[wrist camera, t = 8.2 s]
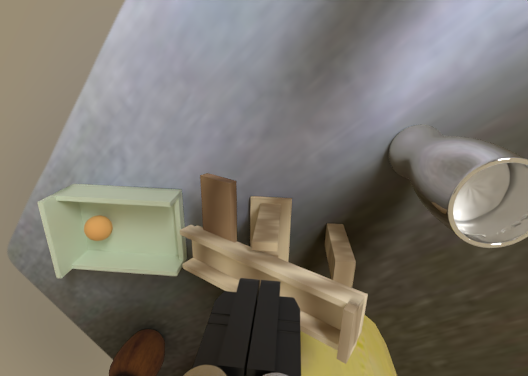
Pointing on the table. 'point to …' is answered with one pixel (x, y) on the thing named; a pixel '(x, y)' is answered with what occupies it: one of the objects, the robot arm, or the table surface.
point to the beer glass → (466, 184)
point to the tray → (116, 229)
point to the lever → (270, 271)
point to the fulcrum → (278, 236)
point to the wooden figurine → (140, 355)
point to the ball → (98, 228)
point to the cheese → (360, 362)
